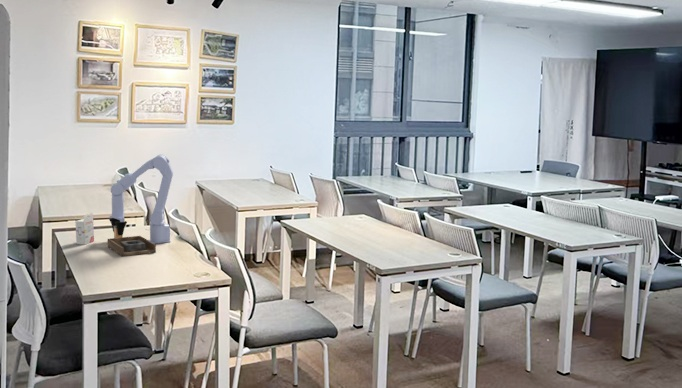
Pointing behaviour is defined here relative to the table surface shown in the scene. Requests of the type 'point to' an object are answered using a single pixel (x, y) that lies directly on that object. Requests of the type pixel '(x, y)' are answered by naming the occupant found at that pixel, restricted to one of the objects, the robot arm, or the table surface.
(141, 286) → the table surface
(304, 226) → the table surface
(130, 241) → the brown wooden box
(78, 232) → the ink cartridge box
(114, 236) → the plug
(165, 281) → the table surface
